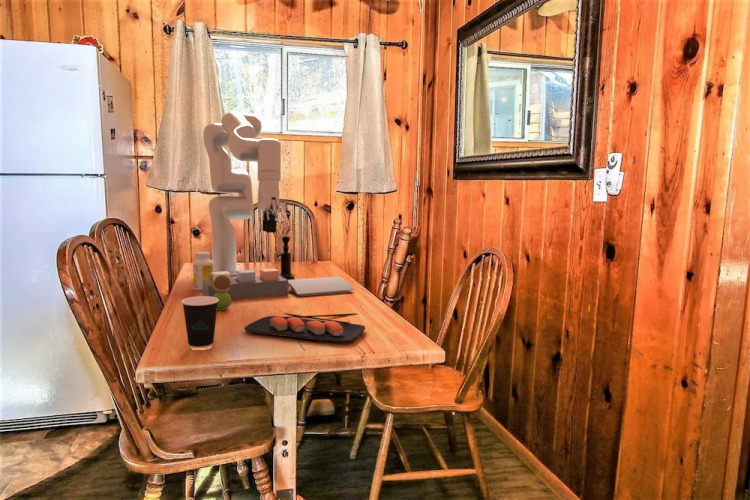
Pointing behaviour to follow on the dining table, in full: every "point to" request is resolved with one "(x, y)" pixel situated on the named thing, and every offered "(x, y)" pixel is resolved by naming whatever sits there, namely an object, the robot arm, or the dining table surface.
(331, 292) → the book
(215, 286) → the snail figurine
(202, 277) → the supplement bottle
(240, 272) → the slate key
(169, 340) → the dining table surface
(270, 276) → the terracotta key
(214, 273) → the cream key
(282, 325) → the sushi plate
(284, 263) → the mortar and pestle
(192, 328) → the dixie cup
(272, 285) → the key panel
